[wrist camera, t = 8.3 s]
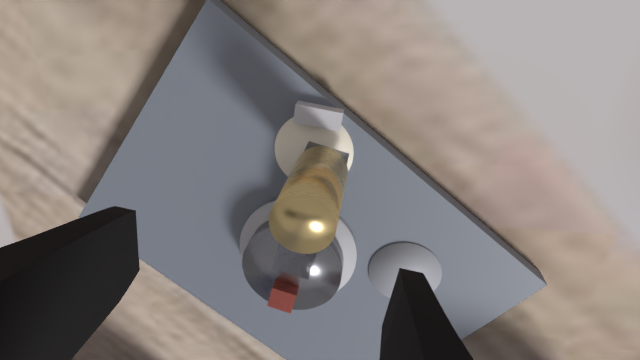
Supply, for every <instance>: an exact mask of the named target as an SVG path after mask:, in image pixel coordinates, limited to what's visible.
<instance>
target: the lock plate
mask: <svg viewBox="0 0 640 360" xmlns="http://www.w3.org/2000/svg"><path fill="white" fill-rule="evenodd" d="M309 141H311V142H314V143H317V144H320V145H323V146H327V147H330V148H333V149H336V150H339V151H343V152H346V153H349V157H348V162H347V167H348V177H347V182H346V187H345V191H344V196H343V201H342V206H341V210H340V215H339V220H338V224H337V229H336V234H335V238H336V239H337V240H338V242H339V244H340V246H341V249H342V251H343V256H344V264H343V271H342V277H341V282H340V286H339V288H338V290H337V292H336V293H335V295H334V296H333V297H332V298H331V299H330V300H329V301H327V302H326V303H324V304H322V305H320V306H318V307H315V308H311V309H305V310H292V311H291V314H290V313H287V312H284V311H281V310H278V309H275V308H272V307H269V306H267V305H268V301H266V300H265V299H263V298H262V297H261V296H259V295H258V294H257V293H256V292H255V291H254V290H253V289H252V288H251V286H250V285H249V283H248V282H247V280H246V278H245V276H244V273H243V268H242V258H243V253H244V250H245V249H246V247H247V245H248V243H249V241H250V239H251V237H252V235H253V234H254V232H255V231H256V229H257V228H258V227H259V226H260V225H262V224H263V223H264V222H266V221H268V220H269V214H270V211H271V209H272V207H273V206H274V204H275V202H276V200H277V198H278V196H279V194H280V192H281V190H282V188H283V186H284V184H285V182H286V180H287V178H288V177H289V175H290V173H291V171H292V169H293V167H294V165H295V163H296V161H297V159H298V157H299V156H300V155H301V154H302V153H303V152H304V150H305V148H306V146H307V144H308V142H309ZM113 206H117V207H122V208H127V209H131V210H136V221H137V237H138V254H139V259H141V260H142V261H144V262H145V263H147V264H148V265H150V266H151V267H152V268H154V269H155V270H157V271H158V272H160V273H161V274H163V275H164V276H166V277H167V278H168V279H170V280H171V281H173V282H174V283H176V284H177V285H179V286H180V287H182V288H183V289H184V290H186V291H187V292H189V293H190V294H192V295H193V296H195V297H196V298H198V299H199V300H200V301H202V302H203V303H205V304H206V305H208V306H209V307H211V308H212V309H214V310H215V311H216V312H218V313H219V314H221V315H222V316H224V317H225V318H227V319H228V320H230V321H231V322H232V323H234V324H235V325H237V326H238V327H240V328H241V329H243V330H244V331H246V332H247V333H248V334H250V335H251V336H253V337H254V338H256V339H257V340H259V341H260V342H262V343H263V344H264V345H266V346H267V347H269V348H270V349H272V350H273V351H275V352H276V353H278V354H279V355H280V356H282V357H283V358H285V359H286V360H379V359H380V345H381V333H382V324H383V321H384V317H385V314H386V311H387V308H388V304H389V301H390V298H391V294H392V291H393V288H394V285H395V281H396V278H397V275H398V271H399V268H402V269H407V270H412V271H416V272H421V273H423V274H424V275H425V277H426V279H427V280H428V282H429V284H430V286H431V288H432V290H433V292H434V294H435V296H436V297H437V299H438V301H439V303H440V305H441V307H442V308H443V310H444V312H445V314H446V316H447V317H448V319H449V321H450V323H451V324H452V326H453V328H454V329H455V331H456V333H457V334H458V336H459V338H460V339H461V340H462V339H464V338H465V337H467V336H469V335H470V334H472V333H473V332H475V331H476V330H478V329H480V328H481V327H483V326H484V325H486V324H487V323H489V322H490V321H492V320H494V319H495V318H497V317H498V316H500V315H501V314H503V313H504V312H506V311H508V310H509V309H511V308H512V307H514V306H515V305H517V304H519V303H520V302H522V301H523V300H525V299H526V298H528V297H529V296H531V295H533V294H534V293H536V292H537V291H539V290H540V289H542V288H543V287H545V286H547V284H546V282H545V280H544V278H543V276H542V274H541V272H540V271H539V270H538V269H536V268H535V267H534V266H533V265H532V264H530V263H529V262H528V261H527V260H526V259H525V258H523V257H522V256H521V255H520V254H519V253H517V252H516V251H515V250H514V249H513V248H512V247H510V246H509V245H508V244H507V243H506V242H505V241H503V240H502V239H501V238H500V237H499V236H497V235H496V234H495V233H494V232H493V231H492V230H490V229H489V228H488V227H487V226H486V225H484V224H483V223H482V222H481V221H480V220H479V219H477V218H476V217H475V216H474V215H473V214H471V213H470V212H469V211H468V210H467V209H466V208H464V207H463V206H462V205H461V204H460V203H459V202H457V201H456V200H455V199H454V198H453V197H451V196H450V195H449V194H448V193H447V192H446V191H444V190H443V189H442V188H441V187H440V186H438V185H437V184H436V183H435V182H434V181H433V180H431V179H430V178H429V177H428V176H427V175H425V174H424V173H423V172H422V171H421V170H420V169H418V168H417V167H416V166H415V165H414V164H413V163H411V162H410V161H409V160H408V159H407V158H405V157H404V156H403V155H402V154H401V153H400V152H398V151H397V150H396V149H395V148H394V147H392V146H391V145H390V144H389V143H388V142H387V141H385V140H384V139H383V138H382V137H381V136H379V135H378V134H377V133H376V132H375V131H374V130H372V129H371V128H370V127H369V126H368V125H367V124H365V123H364V122H363V121H362V120H361V119H359V118H358V117H357V116H356V115H355V114H354V113H352V112H351V111H350V110H349V109H348V108H346V107H345V106H344V105H343V104H342V103H341V102H339V101H338V100H337V99H336V98H335V97H334V96H332V95H331V94H330V93H329V92H328V91H326V90H325V89H324V88H323V87H322V86H321V85H319V84H318V83H317V82H316V81H315V80H313V79H312V78H311V77H310V76H309V75H308V74H306V73H305V72H304V71H303V70H302V69H300V68H299V67H298V66H297V65H296V64H295V63H293V62H292V61H291V60H290V59H289V58H288V57H286V56H285V55H284V54H283V53H282V52H280V51H279V50H278V49H277V48H276V47H275V46H273V45H272V44H271V43H270V42H269V41H267V40H266V39H265V38H264V37H263V36H262V35H260V34H259V33H258V32H257V31H256V30H254V29H253V28H252V27H251V26H250V25H249V24H247V23H246V22H245V21H244V20H243V19H242V18H240V17H239V16H238V15H237V14H236V13H234V12H233V11H232V10H231V9H230V8H229V7H227V6H226V5H225V4H224V3H223V2H221V1H220V0H206V2H205V3H204V5H203V7H202V9H201V10H200V12H199V14H198V15H197V17H196V19H195V20H194V22H193V24H192V26H191V27H190V29H189V31H188V32H187V34H186V36H185V37H184V39H183V41H182V43H181V44H180V46H179V48H178V49H177V51H176V53H175V54H174V56H173V58H172V60H171V61H170V63H169V65H168V66H167V68H166V70H165V71H164V73H163V75H162V77H161V78H160V80H159V82H158V83H157V85H156V87H155V88H154V90H153V92H152V94H151V95H150V97H149V99H148V100H147V102H146V104H145V105H144V107H143V109H142V111H141V112H140V114H139V116H138V117H137V119H136V121H135V122H134V124H133V126H132V128H131V129H130V131H129V133H128V134H127V136H126V138H125V139H124V141H123V143H122V145H121V146H120V148H119V150H118V151H117V153H116V155H115V156H114V158H113V160H112V162H111V163H110V165H109V167H108V168H107V170H106V172H105V173H104V175H103V177H102V179H101V180H100V182H99V184H98V185H97V187H96V189H95V190H94V192H93V194H92V196H91V197H90V199H89V201H88V202H87V204H86V206H85V207H84V209H83V211H82V213H81V214H80V216H79V217H80V218H81V217H84V216H87V215H89V214H92V213H95V212H98V211H100V210H103V209H106V208H109V207H113Z"/></svg>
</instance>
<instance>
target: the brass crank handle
mask: <svg viewBox="0 0 640 360" xmlns="http://www.w3.org/2000/svg"><path fill="white" fill-rule="evenodd" d="M348 157H349V153H346V152H343V151H339V150H336V149H333V148H330V147H327V146H323V145H320V144H317V143H314V142H311V141H309V142H308V144H307V146H306V148H305V150H304V152H303V153H302V154H301V155H300V156H299V157H298V159H297V161H296V163H295V165H294V167H293V169H292V171H291V173H290V175H289V177H288V178H287V180H286V182H285V184H284V186H283V188H282V190H281V192H280V194H279V196H278V198H277V200H276V202H275V204H274V206H273V207H272V209H271V211H270V214H269V220H268V221H266V222H264V223H263V224H262V225H260V226H259V227H258V228H257V229H256V231H255V232H254V234H253V235H252V237H251V239H250V241H249V243H248V245H247V247H246V249H245V250H244V253H243V258H242V268H243V273H244V276H245V278H246V280H247V282H248V283H249V285H250V286H251V288H252V289H253V290H254V291H255V292H256V293H257V294H258V295H259V296H261V297H262V298H263V299H265V300H266V301H268V305H267V306H269V307H272V308H275V309H278V310H281V311H284V312H287V313H290V314H291V311H292V310H305V309H311V308H315V307H318V306H320V305H322V304H324V303H326V302H327V301H329V300H330V299H331V298H332V297H333V296H334V295H335V293H336V292H337V290H338V288H339V286H340V282H341V277H342V271H343V264H344V256H343V251H342V249H341V246H340V244H339V242H338V240H337V239H336V238H335V234H336V229H337V224H338V220H339V215H340V210H341V206H342V201H343V196H344V191H345V187H346V182H347V177H348V167H347V162H348Z"/></svg>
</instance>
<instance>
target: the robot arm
mask: <svg viewBox="0 0 640 360" xmlns="http://www.w3.org/2000/svg"><path fill="white" fill-rule="evenodd" d="M138 272H139V254H138V237H137V221H136V210H131V209H127V208H122V207H117V206H113V207H109V208H106V209H103V210H100V211H98V212H95V213H92V214H89V215H87V216H84V217H81V218H79V219H76V220H74V221H71V222H69V223H66V224H63V225H61V226H58V227H56V228H53V229H50V230H48V231H45V232H43V233H40V234H37V235H35V236H32V237H29V238H27V239H24V240H21V241H18V242H15V243H12V244H10V245H7V246H4V247H1V248H0V360H71V359H72V358H73V356H74V355H75V354H76V353H77V352H78V351H79V349H80V348H81V347H82V346H83V345H84V343H85V342H86V341H87V340H88V339H89V338H90V336H91V335H92V334H93V333H94V332H95V330H96V329H97V328H98V327H99V326H100V325H101V323H102V322H103V321H104V320H105V319H106V317H107V316H108V315H109V314H110V313H111V311H112V310H113V309H114V308H115V306H116V305H117V304H118V303H119V301H120V300H121V298H122V297H123V295H124V294H125V292H126V291H127V289H128V288H129V286H130V285H131V283H132V281H133V280H134V278H135V277H136V275H137V273H138ZM379 360H473V358H472V357H471V355H470V354H469V352H468V350H467V349H466V347H465V346H464V344H463V342H462V341H461V339H460V338H459V336H458V334H457V333H456V331H455V329H454V328H453V326H452V324H451V323H450V321H449V319H448V317H447V316H446V314H445V312H444V310H443V308H442V307H441V305H440V303H439V301H438V299H437V297H436V296H435V294H434V292H433V290H432V288H431V286H430V284H429V282H428V280H427V279H426V277H425V275H424V274H423V273H421V272H416V271H412V270H407V269H402V268H399V271H398V275H397V278H396V281H395V285H394V288H393V291H392V294H391V298H390V301H389V304H388V308H387V311H386V314H385V317H384V321H383V324H382V333H381V345H380V359H379Z"/></svg>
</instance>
